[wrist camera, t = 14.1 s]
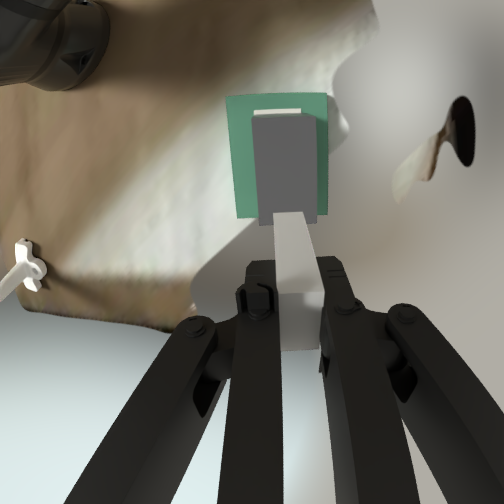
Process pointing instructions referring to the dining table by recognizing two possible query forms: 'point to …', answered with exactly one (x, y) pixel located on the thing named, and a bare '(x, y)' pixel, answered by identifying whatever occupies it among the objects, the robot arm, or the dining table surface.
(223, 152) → the dining table surface
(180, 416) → the robot arm
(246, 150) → the board
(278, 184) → the block
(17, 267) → the joystick
